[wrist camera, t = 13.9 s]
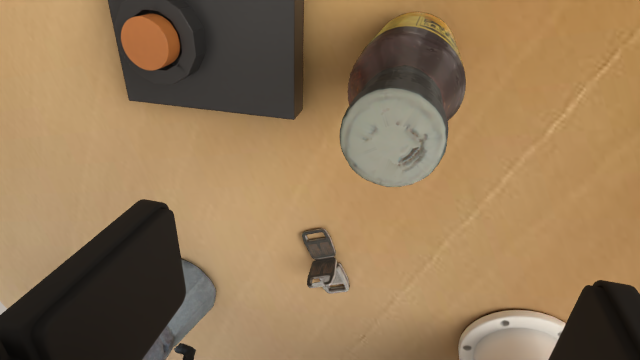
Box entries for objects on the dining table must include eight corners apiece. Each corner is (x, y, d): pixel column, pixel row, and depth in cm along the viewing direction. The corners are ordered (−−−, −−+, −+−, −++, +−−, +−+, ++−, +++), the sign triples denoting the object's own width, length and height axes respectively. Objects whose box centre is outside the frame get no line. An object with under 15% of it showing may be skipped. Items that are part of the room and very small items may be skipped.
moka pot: (125, 249, 51) (-24, 394, 34) (235, 256, 47) (128, 424, 30) (148, 304, 56) (26, 457, 39) (250, 314, 52) (164, 489, 35)
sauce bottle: (463, 74, 32) (505, 207, 15) (388, 99, 34) (351, 238, 17) (441, -9, 30) (461, 36, 13) (362, 23, 32) (289, 99, 15)
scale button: (176, 15, 31) (163, 18, 29) (183, 67, 33) (172, 72, 31) (130, 11, 31) (115, 14, 30) (140, 63, 33) (126, 68, 32)
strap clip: (352, 286, 46) (346, 314, 42) (327, 289, 47) (319, 317, 43) (326, 225, 42) (317, 251, 39) (300, 230, 43) (289, 255, 40)
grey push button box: (304, -41, 31) (286, -40, 27) (302, 109, 37) (288, 127, 33) (119, -48, 34) (80, -49, 30) (146, 92, 39) (115, 106, 36)
